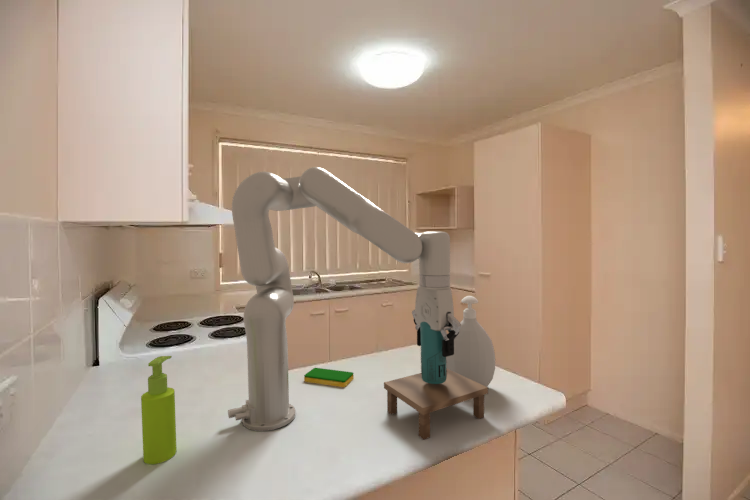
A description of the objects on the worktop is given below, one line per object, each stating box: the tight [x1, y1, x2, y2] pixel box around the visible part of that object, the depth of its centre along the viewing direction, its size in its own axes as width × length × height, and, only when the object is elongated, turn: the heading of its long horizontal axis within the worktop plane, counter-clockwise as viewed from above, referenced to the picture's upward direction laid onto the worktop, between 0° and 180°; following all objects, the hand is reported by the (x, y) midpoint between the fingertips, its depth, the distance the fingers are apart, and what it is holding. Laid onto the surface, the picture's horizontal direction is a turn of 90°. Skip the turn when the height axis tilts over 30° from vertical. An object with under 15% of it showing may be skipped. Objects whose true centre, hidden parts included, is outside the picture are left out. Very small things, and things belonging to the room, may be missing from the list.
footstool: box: [383, 368, 489, 440], centre depth 90 cm, size 20×16×8 cm
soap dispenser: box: [140, 355, 177, 465], centre depth 75 cm, size 6×7×20 cm
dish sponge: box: [303, 367, 355, 388], centre depth 113 cm, size 7×14×2 cm, turn 71°
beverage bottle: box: [419, 322, 447, 384], centre depth 90 cm, size 6×7×20 cm
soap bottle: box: [446, 295, 496, 387], centre depth 107 cm, size 14×8×27 cm, turn 77°
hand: (434, 350), depth 90 cm, fingers open, 9 cm apart
